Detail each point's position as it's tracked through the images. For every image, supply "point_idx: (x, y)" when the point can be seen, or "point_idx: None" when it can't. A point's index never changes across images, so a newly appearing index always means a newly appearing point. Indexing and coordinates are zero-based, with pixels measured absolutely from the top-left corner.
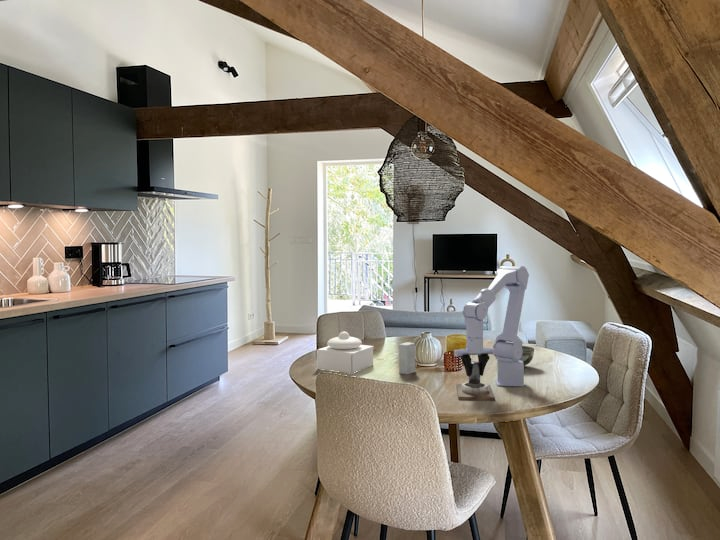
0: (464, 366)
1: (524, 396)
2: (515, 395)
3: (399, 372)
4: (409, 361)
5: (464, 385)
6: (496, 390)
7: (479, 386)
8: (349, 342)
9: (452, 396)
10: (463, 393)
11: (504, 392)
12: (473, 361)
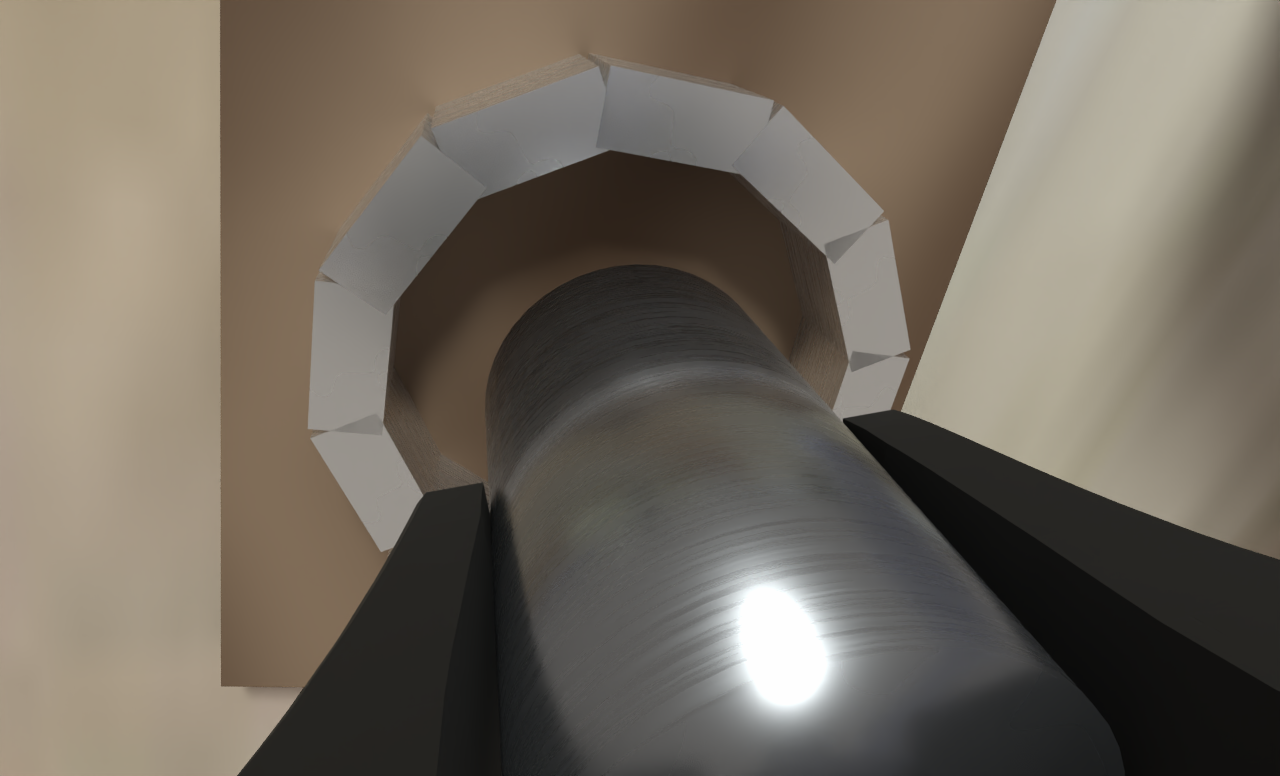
0: (297, 704)
1: (1239, 485)
2: (1165, 441)
3: None
4: None
5: (366, 438)
6: (1062, 144)
7: (764, 202)
8: None
9: (122, 491)
10: (337, 521)
11: (1115, 282)
12: (922, 644)
